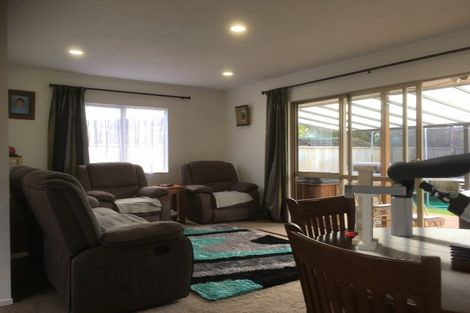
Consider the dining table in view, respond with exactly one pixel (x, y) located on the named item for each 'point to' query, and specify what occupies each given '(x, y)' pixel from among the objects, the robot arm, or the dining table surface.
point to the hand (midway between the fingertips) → (420, 183)
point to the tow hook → (355, 233)
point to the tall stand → (363, 179)
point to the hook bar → (373, 190)
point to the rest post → (366, 222)
